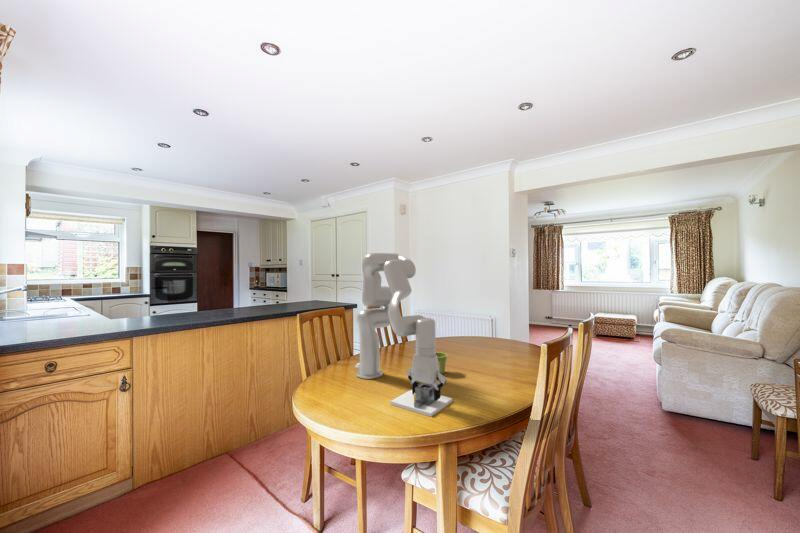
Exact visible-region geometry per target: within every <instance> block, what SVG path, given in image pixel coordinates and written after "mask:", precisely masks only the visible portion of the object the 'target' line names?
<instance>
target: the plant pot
mask: <svg viewBox="0 0 800 533" xmlns="http://www.w3.org/2000/svg"><path fill="white" fill-rule="evenodd" d="M436 355H437V358H438V361H439V362H440V371H439V373H440V374H442V375H443V374H445V371H446V362H447V358H448V356H449V355H448V354H447V353H444V352H436Z"/></svg>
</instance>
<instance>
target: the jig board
mask: <svg viewBox="0 0 800 533" xmlns="http://www.w3.org/2000/svg"><path fill="white" fill-rule="evenodd" d="M453 399H454V398H453V397H449V396H445V395H441V396H440V399H438V400H437V401H435V402H434V403H432V404H431V405H430V406H428V405H423V406H421V407H420V408H415V407H414V395H413V394H412V389H410V390H408V391H406V392H405V393H403V394H402V393H401V395H399V396H397V397H395V398H394V399H391V400H390V401H389V403H390V406H391V405H392V406H395V407H398V408H401V409H404V410H408V411H411V412H414V413H416V414H420V415H424V416H427V417H430V418H432V417H433V416H434V415H436V414H437V413H439V412H440V411H441V410H443V409H444V408H445V407H447V406H448V405H450V404H451V403H452V402H453V401H454V400H453Z"/></svg>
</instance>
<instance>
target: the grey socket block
mask: <svg viewBox="0 0 800 533" xmlns="http://www.w3.org/2000/svg"><path fill="white" fill-rule="evenodd" d="M423 387H429V388H428V389H425V388H423ZM434 390H435V387H434V386H433V385H430V384H425V383H422V384H421V383H420V384H418V386H417V387H415V393H416V394H417V401H416V402H414V407H415V408H420V407H421V406H423V405H428V406H430V405H431V404H432V403H434V402H435V400H434Z"/></svg>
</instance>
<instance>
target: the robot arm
mask: <svg viewBox="0 0 800 533" xmlns="http://www.w3.org/2000/svg"><path fill="white" fill-rule="evenodd" d="M361 268H362V275H363V281H362V282H363V283H362V293H361V294H362V295H361V302H362V304H363V306H365V307H367V309H363V310H361V311H359V313H358V314H357V326H358V333H359V334H358V335H359V362H357V363H356V364H355V365H354V368H355V369H357V372H356V377H358V378H360V379H364V380H368V379H369V380H373V379H379V378H380V377H382V376H383V374H384V371H383V370H381V369H380V366H381V365H380V362H381V360H380V359H381V358H380V351H381V350H380V337H379V336H380V335H379V333H377V331H376V329H379V328H380V329H381V328H386V327H390V326H391V329H392V331H393V332H394V334H395V335H396V336H398V337H402V338H403V337H409V336H413V335H415V346H413V350H414V351H415V353H414V354H413V357H412V363H411V368H410V369H407V370H406V371H405V372H406V374H407V375H406V376H407V377H408V380H409V381H410V384H411V390H412V394H413V395H414V393H415V387H417V386H419V383H420V382H421V383H425V384H430V385H432V384H433V386H434V387H435V390H434V400H435V401H437V400H438V399H440V396H441V389H442V388H443V387H444V386H445V384H446V383H447V380H448V378H447V377H446V376H444V375H443V374H442V373H441V374H440V373H439V363H438V358H437V355H436V350H437V349H436V346H437V345H436V342H437V341H436V320H435V319H434V318H430V317H425V316H423V315H419V314H415V315H405V316H402V313H401V311H400V302H401V301H402V300H404V299H406V298H407V297H409V296H410V295H411V293H412V288H411V285H410V282H409V279H412V278H413V277H415V276H416V271H417V269H416V264H415V263H414V262H413V261H412V260H411V259H409V258H407V257H405V256H403V255H402V254H399V253H395V252H393V253H392V252H388V253H387V252H386V253H385V252H373V253H368V254H366V255H365V256H364V257H363V259H362V262H361ZM380 272H383V274H384V276H385V278H386V281H387V285H388V286H387V285H385V286H382V276H381V274H380ZM372 307H373V308H372ZM374 307H377V308H374ZM440 381H441V382H440ZM421 383H420V384H421Z"/></svg>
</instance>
